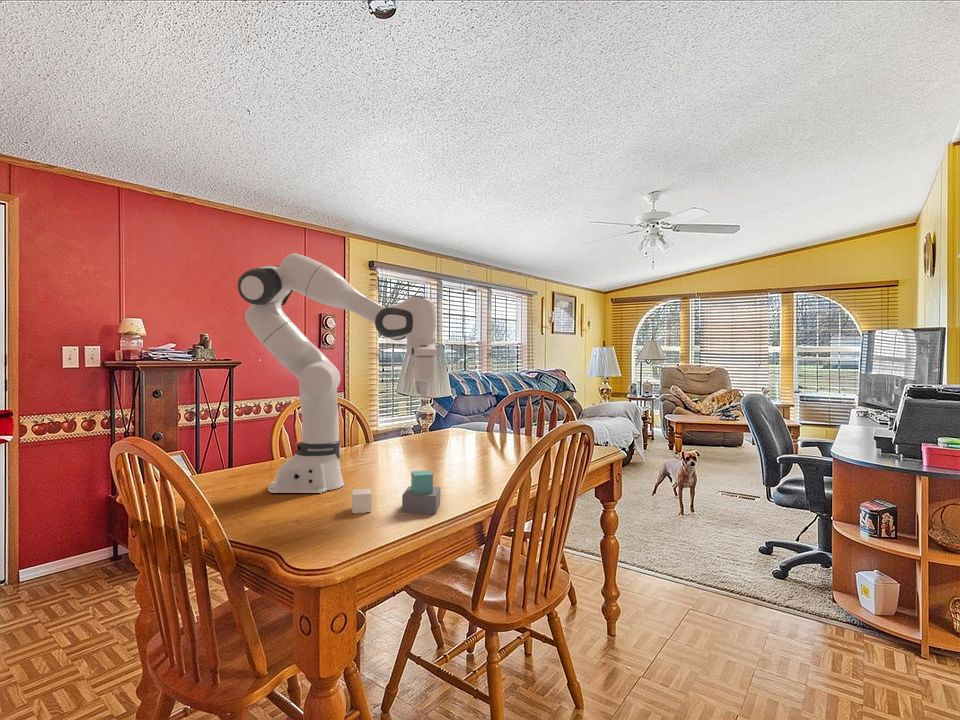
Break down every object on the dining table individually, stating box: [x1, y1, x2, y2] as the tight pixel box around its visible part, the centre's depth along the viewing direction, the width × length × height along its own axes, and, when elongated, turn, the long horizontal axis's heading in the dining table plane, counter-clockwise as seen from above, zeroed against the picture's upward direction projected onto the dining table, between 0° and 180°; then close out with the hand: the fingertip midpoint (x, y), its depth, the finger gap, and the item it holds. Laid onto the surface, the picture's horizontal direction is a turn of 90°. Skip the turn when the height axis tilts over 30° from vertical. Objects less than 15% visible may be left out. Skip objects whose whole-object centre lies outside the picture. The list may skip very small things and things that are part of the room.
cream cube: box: [351, 488, 372, 514], centre depth 143 cm, size 5×5×5 cm
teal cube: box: [410, 469, 434, 494], centre depth 145 cm, size 5×5×5 cm
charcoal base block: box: [401, 485, 441, 515], centre depth 145 cm, size 9×9×5 cm
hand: (421, 395), depth 162 cm, fingers open, 8 cm apart
